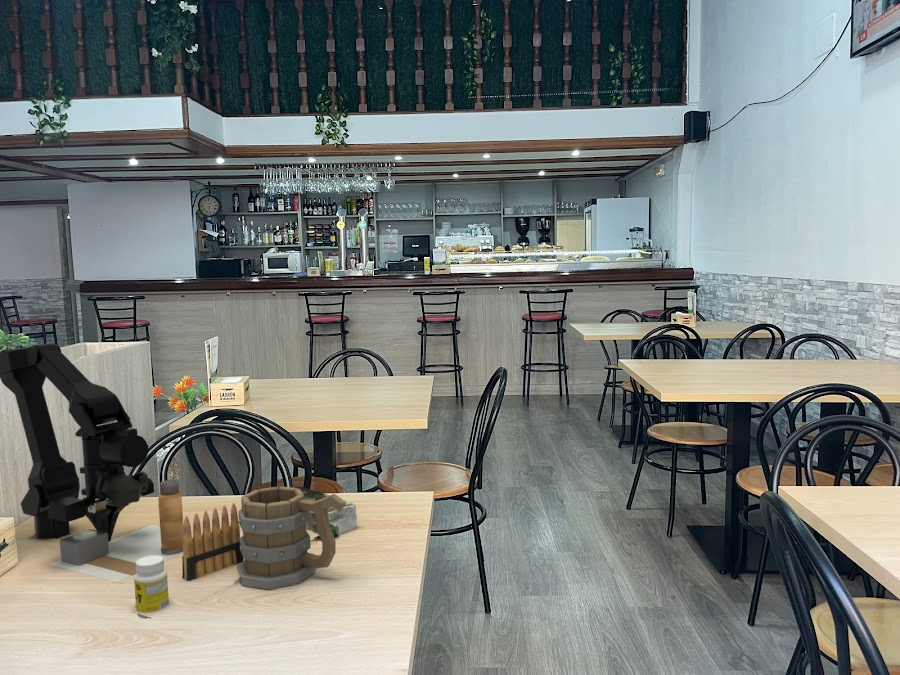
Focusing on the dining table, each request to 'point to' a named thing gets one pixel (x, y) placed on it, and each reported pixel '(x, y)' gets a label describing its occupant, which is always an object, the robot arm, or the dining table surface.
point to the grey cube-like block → (84, 547)
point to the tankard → (282, 536)
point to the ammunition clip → (211, 544)
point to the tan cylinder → (170, 517)
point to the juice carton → (331, 514)
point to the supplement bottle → (150, 584)
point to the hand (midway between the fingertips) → (107, 541)
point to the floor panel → (122, 555)
